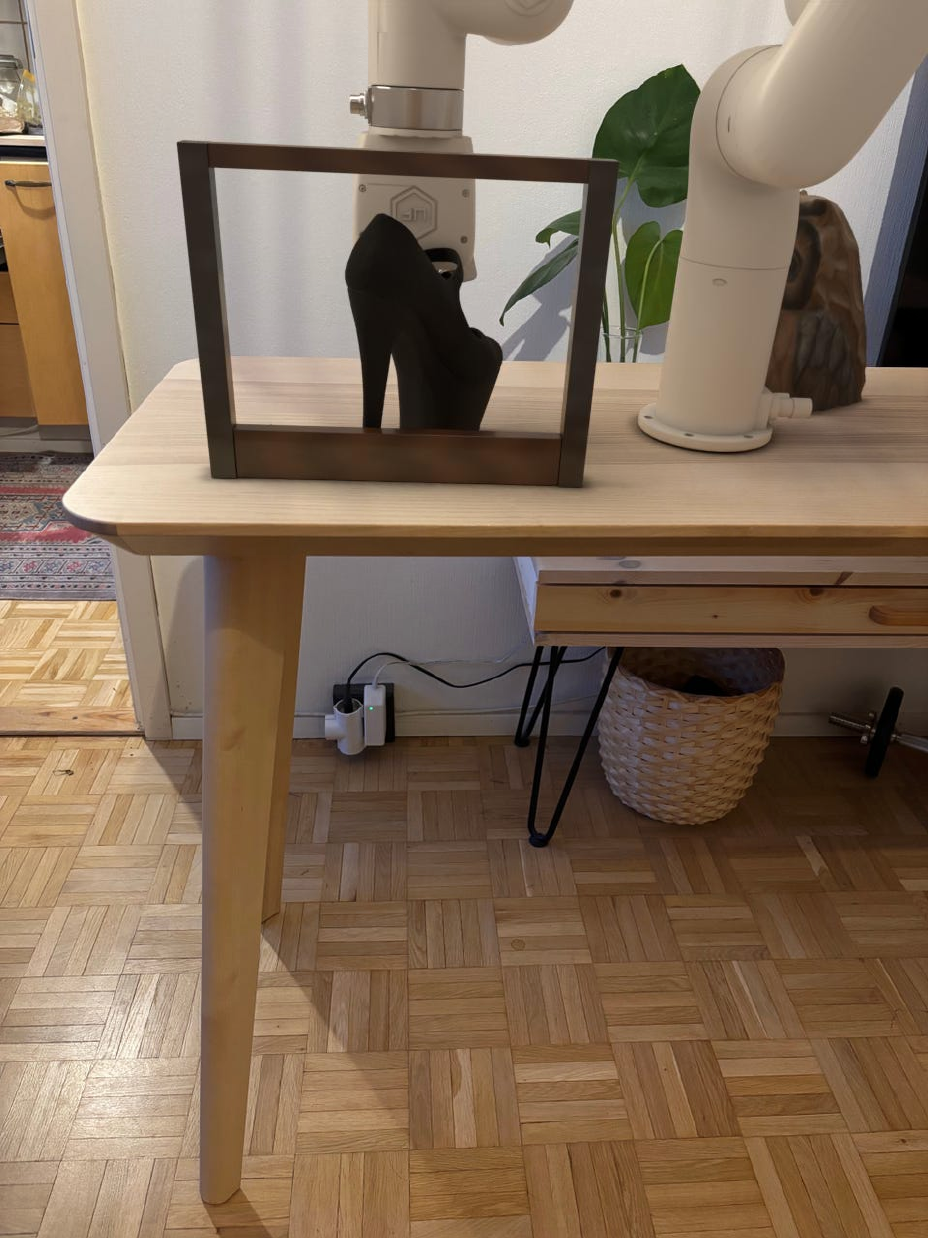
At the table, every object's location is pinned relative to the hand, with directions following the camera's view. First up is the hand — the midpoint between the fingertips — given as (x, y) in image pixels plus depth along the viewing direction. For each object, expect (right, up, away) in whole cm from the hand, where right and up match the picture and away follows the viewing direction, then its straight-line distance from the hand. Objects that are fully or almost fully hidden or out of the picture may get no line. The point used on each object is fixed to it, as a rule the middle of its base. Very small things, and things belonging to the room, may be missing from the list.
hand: (412, 347), depth 83 cm
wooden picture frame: (-1, -13, -7) cm, 15 cm away
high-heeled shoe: (0, -9, -1) cm, 9 cm away
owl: (+41, 0, +18) cm, 45 cm away
